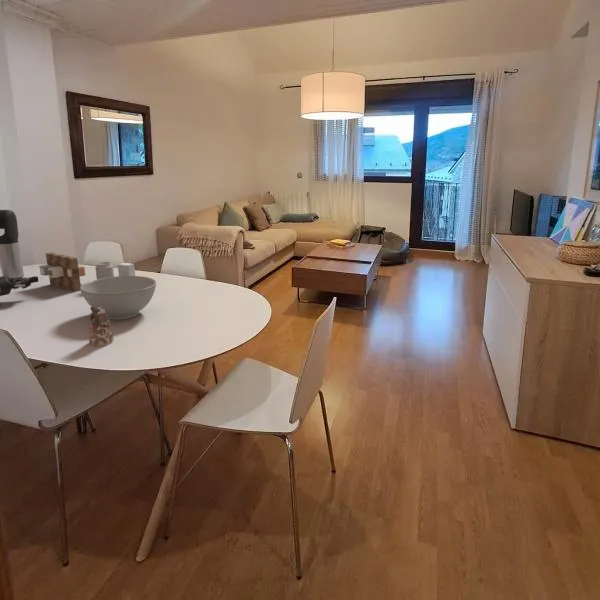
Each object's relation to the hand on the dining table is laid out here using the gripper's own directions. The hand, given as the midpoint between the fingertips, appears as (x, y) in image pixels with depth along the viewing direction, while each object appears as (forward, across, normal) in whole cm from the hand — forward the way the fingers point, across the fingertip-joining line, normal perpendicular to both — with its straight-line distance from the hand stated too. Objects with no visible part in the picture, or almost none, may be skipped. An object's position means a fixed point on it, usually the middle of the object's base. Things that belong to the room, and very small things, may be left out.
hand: (37, 278), depth 195 cm
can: (+24, +12, -8) cm, 28 cm away
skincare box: (+28, +22, -8) cm, 37 cm away
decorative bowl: (+4, +50, -8) cm, 51 cm away
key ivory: (+11, -5, -2) cm, 12 cm away
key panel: (+16, -5, -8) cm, 19 cm away
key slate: (+12, -12, -2) cm, 17 cm away
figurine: (-18, +68, -7) cm, 71 cm away
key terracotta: (+16, +2, -2) cm, 16 cm away
